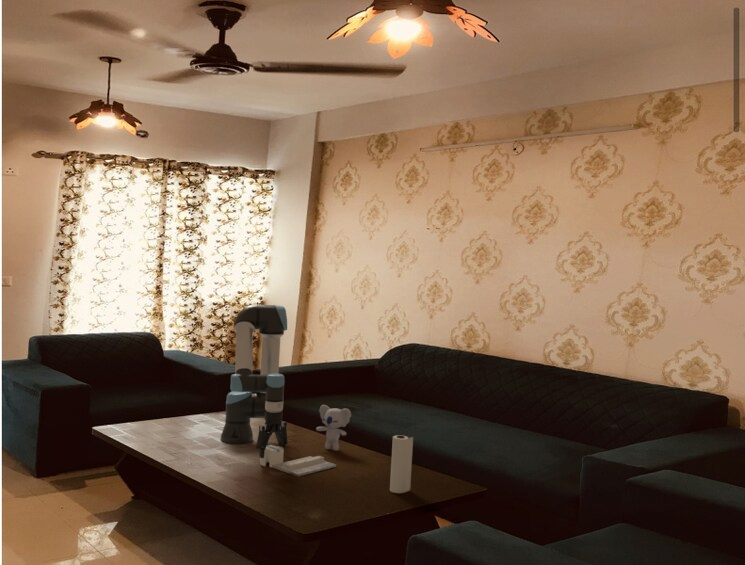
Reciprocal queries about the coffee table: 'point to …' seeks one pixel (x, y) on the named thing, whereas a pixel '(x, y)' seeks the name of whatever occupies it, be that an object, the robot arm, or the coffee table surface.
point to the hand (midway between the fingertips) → (271, 463)
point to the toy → (333, 424)
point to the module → (274, 455)
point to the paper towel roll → (401, 464)
